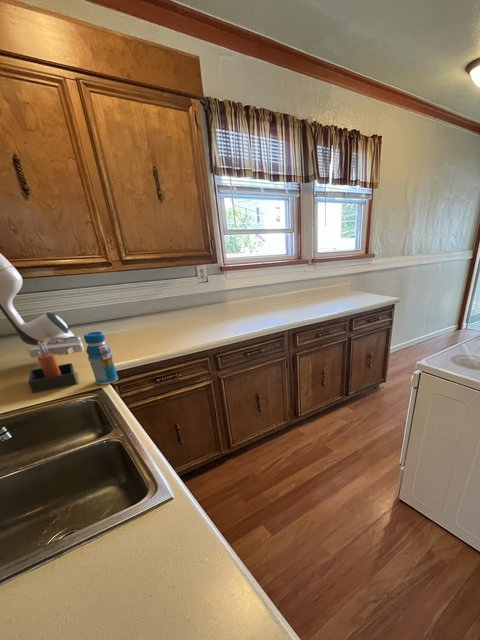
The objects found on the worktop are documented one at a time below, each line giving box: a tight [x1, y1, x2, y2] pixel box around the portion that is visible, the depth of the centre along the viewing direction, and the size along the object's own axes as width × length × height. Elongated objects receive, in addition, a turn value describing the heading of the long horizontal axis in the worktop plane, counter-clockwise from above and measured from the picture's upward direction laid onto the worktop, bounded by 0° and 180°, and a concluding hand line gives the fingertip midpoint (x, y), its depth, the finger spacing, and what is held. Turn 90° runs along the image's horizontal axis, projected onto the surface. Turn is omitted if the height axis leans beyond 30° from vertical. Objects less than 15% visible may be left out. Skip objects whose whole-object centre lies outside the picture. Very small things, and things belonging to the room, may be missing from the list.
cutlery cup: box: [36, 341, 62, 378], centre depth 130 cm, size 6×6×17 cm
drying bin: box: [27, 362, 78, 393], centre depth 133 cm, size 15×15×5 cm
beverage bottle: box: [83, 331, 119, 385], centre depth 131 cm, size 8×8×20 cm
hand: (54, 354), depth 140 cm, fingers open, 8 cm apart
